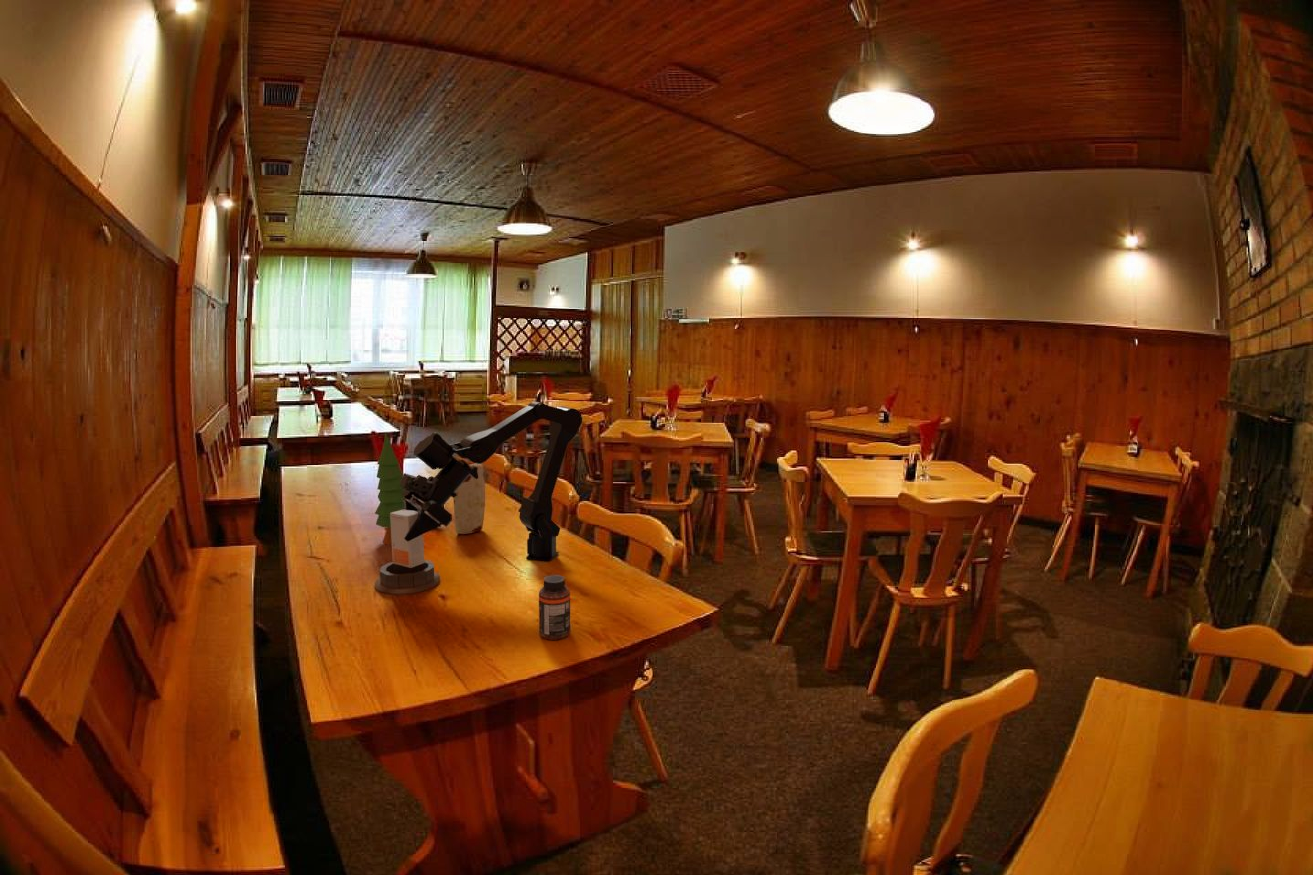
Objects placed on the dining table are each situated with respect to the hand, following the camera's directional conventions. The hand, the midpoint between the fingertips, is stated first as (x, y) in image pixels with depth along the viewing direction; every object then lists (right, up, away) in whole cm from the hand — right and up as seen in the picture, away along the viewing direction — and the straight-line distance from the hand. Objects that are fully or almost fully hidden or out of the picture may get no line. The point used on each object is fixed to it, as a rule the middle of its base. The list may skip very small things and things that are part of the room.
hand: (400, 536), depth 156 cm
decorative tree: (-13, -6, +33) cm, 36 cm away
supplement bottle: (+38, -16, -22) cm, 47 cm away
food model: (+4, -5, +42) cm, 43 cm away
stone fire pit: (+1, -11, +3) cm, 11 cm away
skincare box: (+1, -7, +2) cm, 7 cm away
